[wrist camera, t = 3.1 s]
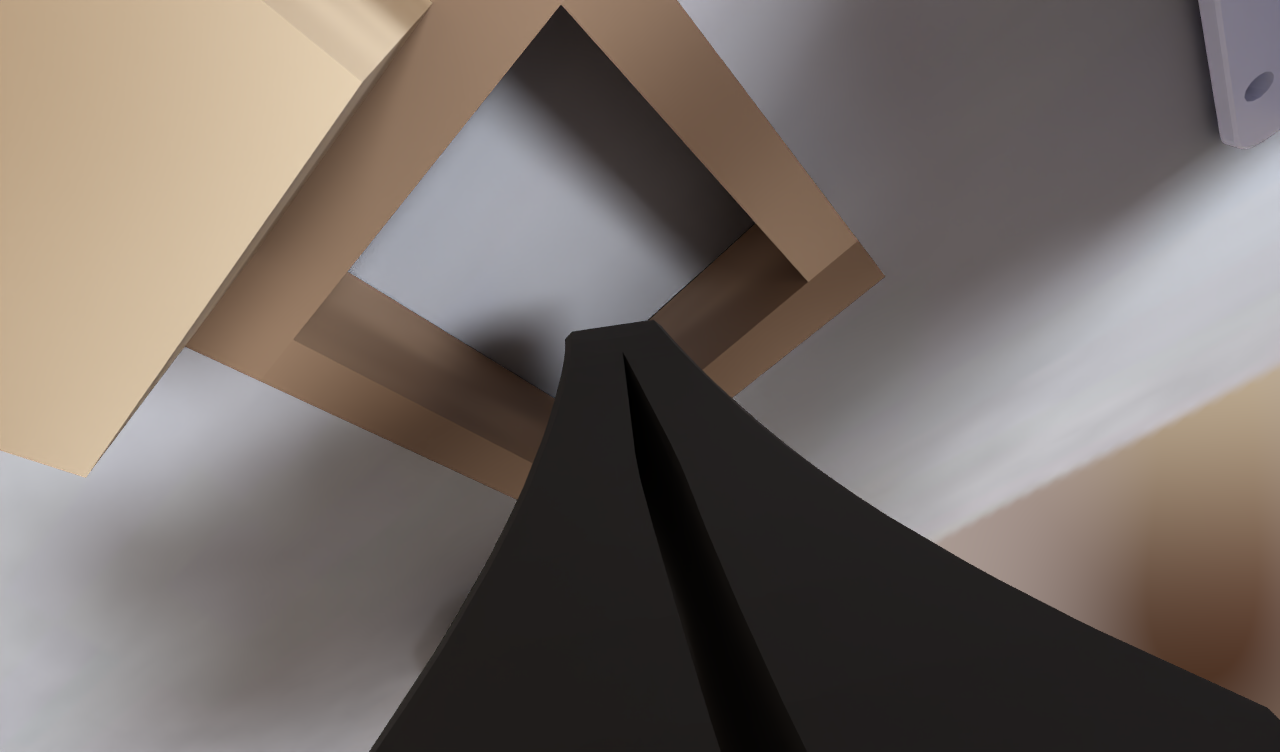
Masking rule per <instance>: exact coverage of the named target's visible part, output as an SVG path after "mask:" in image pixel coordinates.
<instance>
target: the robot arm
mask: <svg viewBox="0 0 1280 752" xmlns="http://www.w3.org/2000/svg"><path fill="white" fill-rule="evenodd" d="M1198 2H1199V9H1200V15H1201V21H1202V27H1203V33H1204V40H1205V46H1206V52H1207V58H1208V64H1209V71H1210V77H1211V83H1212V89H1213V95H1214V101H1215V108H1216V114H1217V120H1218V126H1219V132H1220V138H1221V140H1222V142H1223V143H1224V144H1227V145H1230V146H1233V147H1236V148H1240V149H1247V148H1251V147H1254V146H1256V145H1258V144H1260V143H1261V142H1263V141H1265V140H1266V139H1268V138H1269V137H1271V136H1272V135H1273V134H1275V133H1276V132H1278V131H1279V130H1280V0H1198ZM369 752H1280V720H1279V719H1278V718H1277V717H1276V716H1275V715H1274V714H1273V713H1272V712H1271V711H1270V710H1269V709H1268V708H1267V707H1264V706H1262V705H1260V704H1258V703H1256V702H1254V701H1251V700H1249V699H1247V698H1245V697H1243V696H1241V695H1238V694H1236V693H1234V692H1232V691H1230V690H1227V689H1225V688H1223V687H1221V686H1219V685H1217V684H1214V683H1212V682H1210V681H1208V680H1206V679H1204V678H1201V677H1199V676H1197V675H1195V674H1193V673H1190V672H1188V671H1186V670H1184V669H1182V668H1180V667H1177V666H1175V665H1173V664H1171V663H1169V662H1166V661H1164V660H1162V659H1160V658H1158V657H1155V656H1153V655H1151V654H1149V653H1147V652H1145V651H1142V650H1140V649H1138V648H1136V647H1134V646H1132V645H1129V644H1127V643H1125V642H1123V641H1121V640H1119V639H1116V638H1114V637H1112V636H1110V635H1108V634H1105V633H1103V632H1101V631H1099V630H1097V629H1095V628H1093V627H1091V626H1089V625H1086V624H1085V623H1082V622H1080V621H1078V620H1076V619H1074V618H1072V617H1070V616H1068V615H1066V614H1065V613H1063V612H1061V611H1059V610H1057V609H1055V608H1053V607H1051V606H1049V605H1047V604H1045V603H1043V602H1041V601H1039V600H1037V599H1035V598H1033V597H1031V596H1030V595H1028V594H1026V593H1024V592H1022V591H1020V590H1018V589H1016V588H1014V587H1012V586H1010V585H1008V584H1006V583H1004V582H1002V581H1000V580H998V579H996V578H995V577H993V576H991V575H989V574H987V573H986V572H984V571H982V570H980V569H978V568H977V567H975V566H973V565H971V564H969V563H967V562H966V561H964V560H962V559H960V558H959V557H957V556H955V555H954V554H952V553H950V552H948V551H947V550H945V549H943V548H942V547H940V546H938V545H937V544H935V543H933V542H932V541H930V540H928V539H926V538H925V537H923V536H921V535H920V534H918V533H916V532H914V531H913V530H911V529H909V528H908V527H906V526H904V525H902V524H901V523H899V522H897V521H896V520H894V519H892V518H890V517H889V516H887V515H886V514H884V513H882V512H881V511H879V510H878V509H876V508H875V507H873V506H872V505H870V504H869V503H867V502H866V501H864V500H862V499H861V498H859V497H858V496H856V495H855V494H853V493H852V492H850V491H849V490H848V489H846V488H845V487H843V486H842V485H840V484H839V483H838V482H836V481H835V480H833V479H832V478H830V477H829V476H828V475H826V474H825V473H823V472H822V471H820V470H819V469H818V468H816V467H815V466H814V465H812V464H811V463H810V462H808V461H807V460H806V459H804V458H803V457H802V456H800V455H799V454H798V453H796V452H795V451H794V450H793V449H791V448H790V447H789V446H787V445H786V444H785V443H784V442H783V441H781V440H780V439H779V438H778V437H776V436H775V435H774V434H773V433H772V432H770V431H769V430H768V429H767V428H765V427H764V426H763V425H762V424H761V423H759V422H758V421H757V420H756V419H755V418H754V417H752V416H751V415H750V414H749V413H748V412H747V411H746V410H744V409H743V408H742V407H741V406H740V405H739V404H738V403H737V402H736V401H735V400H733V399H732V398H731V397H730V396H729V395H728V394H727V393H726V392H725V391H724V390H723V389H722V388H721V387H719V386H718V385H717V384H716V383H715V382H714V381H713V380H712V379H711V378H710V377H709V376H708V375H707V374H706V373H705V372H704V371H703V370H702V369H701V368H700V367H699V366H698V365H697V364H696V363H695V362H694V361H693V360H692V359H691V358H690V357H689V356H688V355H687V354H686V353H685V352H684V351H683V349H682V348H681V347H680V346H679V345H678V344H677V343H676V342H675V341H674V340H673V339H672V337H671V336H670V335H669V334H668V333H667V332H666V331H665V330H664V328H663V327H662V326H661V325H660V324H658V323H657V322H656V321H655V320H648V321H641V322H635V323H628V324H621V325H614V326H608V327H601V328H594V329H587V330H580V331H574V332H571V333H570V335H569V336H568V337H567V338H566V339H565V356H564V363H563V369H562V374H561V378H560V382H559V386H558V390H557V394H556V397H555V401H554V404H553V407H552V410H551V413H550V417H549V420H548V423H547V426H546V430H545V432H544V435H543V438H542V441H541V443H540V446H539V449H538V451H537V454H536V456H535V459H534V461H533V464H532V466H531V469H530V471H529V474H528V476H527V479H526V481H525V484H524V486H523V489H522V491H521V493H520V495H519V498H518V500H517V502H516V504H515V506H514V509H513V511H512V513H511V515H510V517H509V519H508V521H507V523H506V525H505V527H504V529H503V531H502V533H501V535H500V537H499V539H498V541H497V543H496V545H495V547H494V549H493V551H492V553H491V555H490V557H489V559H488V561H487V563H486V564H485V566H484V568H483V570H482V572H481V573H480V575H479V577H478V579H477V581H476V582H475V584H474V586H473V588H472V589H471V591H470V593H469V595H468V597H467V598H466V600H465V602H464V604H463V606H462V607H461V609H460V611H459V613H458V614H457V616H456V618H455V619H454V621H453V623H452V624H451V626H450V628H449V629H448V631H447V633H446V634H445V636H444V638H443V639H442V641H441V643H440V644H439V646H438V648H437V649H436V651H435V652H434V654H433V656H432V657H431V659H430V660H429V662H428V663H427V665H426V666H425V668H424V669H423V671H422V672H421V674H420V675H419V677H418V678H417V680H416V681H415V683H414V684H413V686H412V687H411V689H410V691H409V692H408V694H407V695H406V697H405V698H404V700H403V701H402V703H401V704H400V706H399V707H398V709H397V710H396V712H395V713H394V715H393V716H392V718H391V719H390V721H389V722H388V724H387V725H386V727H385V728H384V730H383V732H382V733H381V735H380V736H379V738H378V739H377V741H376V742H375V744H374V745H373V747H372V748H371V750H370V751H369Z"/></svg>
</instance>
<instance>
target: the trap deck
mask: <svg viewBox="0 0 1280 752" xmlns="http://www.w3.org/2000/svg"><path fill="white" fill-rule="evenodd" d="M430 1H431V2H432V5H431V6H430V7H429V9H428V10H427V12H426V13H425V15H424V16H423V17H422V19H421V20H420V22H419V23H418V24H417V26H416V27H415V29H414V30H413V31H412V33H411V34H410V36H409V37H408V38H407V40H406V41H405V43H404V44H403V45H402V47H401V48H400V50H399V51H398V53H397V54H396V55H395V57H394V58H393V60H392V61H391V62H390V64H389V65H388V67H387V68H386V69H385V71H384V72H383V74H382V75H381V76H380V78H379V79H378V81H377V82H376V84H375V85H374V86H373V88H372V89H371V91H370V92H369V93H368V95H367V96H366V98H365V99H364V100H363V102H362V103H361V105H360V106H359V107H358V109H357V110H356V112H355V113H354V115H353V116H352V117H351V119H350V120H349V122H348V123H347V124H346V126H345V127H344V129H343V130H342V131H341V133H340V134H339V136H338V137H337V138H336V140H335V141H334V143H333V144H332V146H331V147H330V148H329V150H328V151H327V153H326V154H325V155H324V157H323V158H322V160H321V161H320V162H319V164H318V165H317V167H316V168H315V169H314V171H313V172H312V174H311V175H310V177H309V178H308V179H307V181H306V182H305V184H304V185H303V186H302V188H301V189H300V191H299V192H298V193H297V195H296V196H295V198H294V199H293V200H292V202H291V203H290V205H289V206H288V208H287V209H286V210H285V212H284V213H283V215H282V216H281V217H280V219H279V220H278V222H277V223H276V224H275V226H274V227H273V229H272V230H271V231H270V233H269V234H268V236H267V237H266V238H265V240H264V241H263V243H262V244H261V246H260V247H259V248H258V250H257V251H256V253H255V254H254V255H253V257H252V258H251V259H250V261H249V262H248V263H247V265H246V266H245V267H244V269H243V270H242V271H241V272H240V274H239V275H238V276H237V278H236V279H235V280H234V282H233V283H232V284H231V286H230V287H229V288H228V290H227V291H226V292H225V294H224V295H223V296H222V298H221V299H220V300H219V302H218V303H217V304H216V306H215V307H214V308H213V310H212V311H211V312H210V314H209V315H208V316H207V318H206V319H205V320H204V322H203V323H202V324H201V326H200V327H199V328H198V329H197V331H196V332H195V333H194V335H193V336H192V337H191V339H190V340H189V341H188V343H187V344H186V345H185V347H187V348H190V349H192V350H194V351H196V352H198V353H200V354H203V355H205V356H207V357H209V358H211V359H213V360H216V361H218V362H220V363H222V364H224V365H226V366H229V367H231V368H233V369H235V370H237V371H239V372H242V373H244V374H246V375H248V376H250V377H252V378H255V379H257V380H259V381H261V382H263V383H265V384H268V385H270V386H272V387H274V388H276V389H278V390H281V391H283V392H285V393H287V394H289V395H291V396H294V397H296V398H298V399H300V400H302V401H304V402H307V403H309V404H311V405H313V406H315V407H317V408H320V409H322V410H324V411H326V412H328V413H330V414H332V415H335V416H337V417H339V418H341V419H343V420H345V421H348V422H350V423H352V424H354V425H356V426H358V427H361V428H363V429H365V430H367V431H369V432H371V433H374V434H376V435H378V436H380V437H382V438H384V439H387V440H389V441H391V442H393V443H395V444H397V445H400V446H402V447H404V448H406V449H408V450H410V451H413V452H415V453H417V454H419V455H421V456H423V457H426V458H428V459H430V460H432V461H434V462H436V463H439V464H441V465H443V466H445V467H447V468H449V469H452V470H454V471H456V472H458V473H460V474H462V475H465V476H467V477H469V478H471V479H473V480H475V481H478V482H480V483H482V484H484V485H486V486H488V487H491V488H493V489H495V490H497V491H499V492H501V493H504V494H506V495H508V496H510V497H512V498H514V499H517V500H518V498H519V495H520V493H521V491H522V489H523V486H524V484H525V481H526V479H527V476H528V474H529V471H530V469H531V466H532V464H533V461H534V459H535V456H536V454H537V451H538V449H539V446H540V443H541V441H542V438H543V435H544V432H545V430H546V426H547V423H548V420H549V417H550V413H551V410H552V407H553V404H554V401H555V398H553V397H551V396H550V395H548V394H546V393H545V392H543V391H541V390H540V389H538V388H537V387H535V386H533V385H532V384H530V383H528V382H527V381H525V380H524V379H522V378H520V377H519V376H517V375H515V374H514V373H512V372H510V371H509V370H507V369H506V368H504V367H502V366H501V365H499V364H497V363H496V362H494V361H492V360H491V359H489V358H488V357H486V356H484V355H483V354H481V353H479V352H478V351H476V350H475V349H473V348H471V347H470V346H468V345H466V344H465V343H463V342H461V341H460V340H458V339H457V338H455V337H453V336H452V335H450V334H448V333H447V332H445V331H444V330H442V329H440V328H439V327H437V326H435V325H434V324H432V323H430V322H429V321H427V320H426V319H424V318H422V317H421V316H419V315H417V314H416V313H414V312H413V311H411V310H409V309H408V308H406V307H404V306H403V305H401V304H399V303H398V302H396V301H395V300H393V299H391V298H390V297H388V296H386V295H385V294H383V293H381V292H380V291H378V290H377V289H375V288H373V287H372V286H370V285H368V284H367V283H365V282H364V281H362V280H360V279H359V278H357V277H355V276H354V275H352V274H350V273H349V272H347V271H348V270H349V269H350V268H351V266H352V265H353V264H354V263H355V261H356V260H357V259H358V258H359V256H360V255H361V254H362V253H363V251H364V250H365V249H366V248H367V246H368V245H369V244H370V243H371V241H372V240H373V239H374V238H375V236H376V235H377V234H378V233H379V231H380V230H381V229H382V228H383V226H384V225H385V224H386V223H387V221H388V220H389V219H390V218H391V216H392V215H393V214H394V213H395V211H396V210H397V209H398V208H399V206H400V205H401V204H402V203H403V201H404V200H405V199H406V198H407V196H408V195H409V194H410V193H411V191H412V190H413V189H414V188H415V186H416V185H417V184H418V183H419V181H420V180H421V179H422V178H423V176H424V175H425V174H426V173H427V171H428V170H429V169H430V168H431V166H432V165H433V164H434V163H435V161H436V160H437V159H438V158H439V156H440V155H441V154H442V153H443V151H444V150H445V149H446V148H447V146H448V145H449V144H450V143H451V141H452V140H453V139H454V138H455V136H456V135H457V134H458V133H459V131H460V130H461V129H462V128H463V126H464V125H465V124H466V122H467V121H468V120H469V119H470V117H471V116H472V115H473V114H474V112H475V111H476V110H477V109H478V107H479V106H480V105H481V104H482V102H483V101H484V100H485V99H486V97H487V96H488V95H489V94H490V92H491V91H492V90H493V89H494V87H495V86H496V85H497V84H498V82H499V81H500V80H501V79H502V77H503V76H504V75H505V74H506V72H507V71H508V70H509V69H510V67H511V66H512V65H513V64H514V62H515V61H516V60H517V59H518V57H519V56H520V55H521V54H522V52H523V51H524V50H525V49H526V47H527V46H528V45H529V44H530V42H531V41H532V40H533V39H534V37H535V36H536V35H537V34H538V32H539V31H540V30H541V29H542V27H543V26H544V25H545V24H546V22H547V21H548V20H549V19H550V17H551V16H552V15H553V14H554V12H555V11H556V10H557V9H558V7H559V6H560V5H562V6H563V7H564V8H565V9H566V10H567V12H568V13H569V14H570V15H571V16H572V17H573V18H574V19H575V21H576V22H577V23H578V24H579V25H580V26H581V27H582V28H583V30H584V31H585V32H586V33H587V34H588V35H589V36H590V37H591V39H592V40H593V41H594V42H595V43H596V44H597V45H598V46H599V48H600V49H601V50H602V51H603V52H604V53H605V54H606V55H607V57H608V58H609V59H610V60H611V61H612V62H613V63H614V64H615V66H616V67H617V68H618V69H619V70H620V71H621V72H622V73H623V75H624V76H625V77H626V78H627V79H628V80H629V81H630V82H631V84H632V85H633V86H634V87H635V88H636V89H637V90H638V91H639V93H640V94H641V95H642V96H643V97H644V98H645V99H646V100H647V102H648V103H649V104H650V105H651V106H652V107H653V108H654V109H655V110H656V112H657V113H658V114H659V115H660V116H661V117H662V118H663V119H664V121H665V122H666V123H667V124H668V125H669V126H670V127H671V128H672V130H673V131H674V132H675V133H676V134H677V135H678V136H679V137H680V139H681V140H682V141H683V142H684V143H685V144H686V145H687V146H688V148H689V149H690V150H691V151H692V152H693V153H694V154H695V155H696V157H697V158H698V159H699V160H700V161H701V162H702V163H703V164H704V166H705V167H706V168H707V169H708V170H709V171H710V172H711V173H712V175H713V176H714V177H715V178H716V179H717V180H718V181H719V182H720V184H721V185H722V186H723V187H724V188H725V189H726V190H727V191H728V193H729V194H730V195H731V196H732V197H733V198H734V199H735V200H736V202H737V203H738V204H739V205H740V206H741V207H742V208H743V209H744V210H745V212H746V213H747V214H748V215H749V216H750V217H751V218H752V219H753V221H754V222H755V224H754V225H753V226H752V227H751V228H750V229H749V230H748V231H747V232H746V233H744V234H743V235H742V236H741V237H740V238H739V239H738V240H737V241H736V242H734V243H733V244H732V245H731V246H730V247H729V248H728V249H727V250H726V251H725V252H723V253H722V254H721V255H720V256H719V257H718V258H717V259H716V260H715V261H714V262H712V263H711V264H710V265H709V266H708V267H707V268H706V269H705V270H704V271H703V272H701V273H700V274H699V275H698V276H697V277H696V278H695V279H694V280H693V281H692V282H690V283H689V284H688V285H687V286H686V287H685V288H684V289H683V290H682V291H680V292H679V293H678V294H677V295H676V296H675V297H674V298H673V299H672V300H671V301H669V302H668V303H667V304H666V305H665V306H664V307H663V308H662V309H661V310H660V311H658V312H657V313H656V314H655V315H654V316H653V317H652V318H651V319H650V320H655V321H656V322H657V323H658V324H660V325H661V326H662V327H663V328H664V330H665V331H666V332H667V333H668V334H669V335H670V336H671V337H672V339H673V340H674V341H675V342H676V343H677V344H678V345H679V346H680V347H681V348H682V349H683V351H684V352H685V353H686V354H687V355H688V356H689V357H690V358H691V359H692V360H693V361H694V362H695V363H696V364H697V365H698V366H699V367H700V368H701V369H702V370H703V371H704V372H705V373H706V374H707V375H708V376H709V377H710V378H711V379H712V380H713V381H714V382H715V383H716V384H717V385H718V386H719V387H721V388H722V389H723V390H724V391H725V392H726V393H727V394H728V395H729V396H730V397H731V398H733V397H734V396H735V395H736V394H738V393H739V392H740V391H741V390H743V389H744V388H745V387H746V386H748V385H749V384H750V383H752V382H753V381H754V380H755V379H757V378H758V377H759V376H760V375H762V374H763V373H764V372H765V371H767V370H768V369H769V368H770V367H772V366H773V365H774V364H776V363H777V362H778V361H779V360H781V359H782V358H783V357H784V356H786V355H787V354H788V353H789V352H791V351H792V350H793V349H794V348H796V347H797V346H798V345H800V344H801V343H802V342H803V341H805V340H806V339H807V338H808V337H810V336H811V335H812V334H813V333H815V332H816V331H817V330H818V329H820V328H821V327H822V326H824V325H825V324H826V323H827V322H829V321H830V320H831V319H832V318H834V317H835V316H836V315H837V314H839V313H840V312H841V311H842V310H844V309H845V308H846V307H848V306H849V305H850V304H851V303H853V302H854V301H855V300H856V299H858V298H859V297H860V296H861V295H863V294H864V293H865V292H866V291H868V290H869V289H870V288H872V287H873V286H874V285H875V284H877V283H878V282H879V281H880V280H882V279H883V278H884V277H885V275H884V274H883V273H882V271H881V270H880V269H879V267H878V266H877V265H876V263H875V262H874V261H873V259H872V258H871V257H870V255H869V254H868V253H867V251H866V250H865V249H864V247H863V246H862V245H861V244H860V242H859V241H858V240H857V238H856V237H855V236H854V234H853V233H852V232H851V230H850V229H849V228H848V226H847V225H846V224H845V222H844V221H843V220H842V218H841V217H840V216H839V214H838V213H837V212H836V210H835V209H834V208H833V206H832V205H831V204H830V202H829V201H828V200H827V198H826V197H825V196H824V194H823V193H822V192H821V190H820V189H819V188H818V186H817V185H816V184H815V183H814V181H813V180H812V179H811V177H810V176H809V175H808V173H807V172H806V171H805V169H804V168H803V167H802V165H801V164H800V163H799V161H798V160H797V159H796V157H795V156H794V155H793V153H792V152H791V151H790V149H789V148H788V147H787V145H786V144H785V143H784V141H783V140H782V139H781V137H780V136H779V135H778V133H777V132H776V131H775V129H774V128H773V127H772V125H771V124H770V123H769V121H768V120H767V119H766V118H765V116H764V115H763V114H762V112H761V111H760V110H759V108H758V107H757V106H756V104H755V103H754V102H753V100H752V99H751V98H750V96H749V95H748V94H747V92H746V91H745V90H744V88H743V87H742V86H741V84H740V83H739V82H738V80H737V79H736V78H735V76H734V75H733V74H732V72H731V71H730V70H729V68H728V67H727V66H726V64H725V63H724V62H723V60H722V59H721V58H720V56H719V55H718V54H717V53H716V51H715V50H714V49H713V47H712V46H711V45H710V43H709V42H708V41H707V39H706V38H705V37H704V35H703V34H702V33H701V31H700V30H699V29H698V27H697V26H696V25H695V23H694V22H693V21H692V19H691V18H690V17H689V15H688V14H687V13H686V11H685V10H684V9H683V7H682V6H681V5H680V3H679V2H678V1H677V0H430Z"/></svg>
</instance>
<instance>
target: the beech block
mask: <svg viewBox="0 0 1280 752" xmlns="http://www.w3.org/2000/svg"><path fill="white" fill-rule="evenodd" d="M431 5H432V2H431V1H430V0H0V450H1V451H4V452H7V453H10V454H13V455H17V456H20V457H23V458H26V459H29V460H32V461H35V462H38V463H41V464H45V465H48V466H51V467H54V468H57V469H60V470H63V471H66V472H70V473H73V474H76V475H79V476H82V477H85V478H86V477H87V475H88V474H89V473H90V471H91V470H92V469H93V467H94V466H95V465H96V463H97V462H98V461H99V459H100V458H101V457H102V455H103V454H104V453H105V451H106V450H107V449H108V447H109V446H110V445H111V444H112V442H113V441H114V440H115V438H116V437H117V436H118V434H119V433H120V432H121V430H122V429H123V428H124V426H125V425H126V424H127V422H128V421H129V420H130V418H131V417H132V416H133V414H134V413H135V412H136V410H137V409H138V408H139V406H140V405H141V404H142V402H143V401H144V400H145V398H146V397H147V396H148V394H149V393H150V392H151V390H152V389H153V388H154V386H155V385H156V384H157V383H158V381H159V380H160V379H161V377H162V376H163V375H164V373H165V372H166V371H167V369H168V368H169V367H170V365H171V364H172V363H173V361H174V360H175V359H176V357H177V356H178V355H179V353H180V352H181V351H182V349H183V348H184V347H185V345H186V344H187V343H188V341H189V340H190V339H191V337H192V336H193V335H194V333H195V332H196V331H197V329H198V328H199V327H200V326H201V324H202V323H203V322H204V320H205V319H206V318H207V316H208V315H209V314H210V312H211V311H212V310H213V308H214V307H215V306H216V304H217V303H218V302H219V300H220V299H221V298H222V296H223V295H224V294H225V292H226V291H227V290H228V288H229V287H230V286H231V284H232V283H233V282H234V280H235V279H236V278H237V276H238V275H239V274H240V272H241V271H242V270H243V269H244V267H245V266H246V265H247V263H248V262H249V261H250V259H251V258H252V257H253V255H254V254H255V253H256V251H257V250H258V248H259V247H260V246H261V244H262V243H263V241H264V240H265V238H266V237H267V236H268V234H269V233H270V231H271V230H272V229H273V227H274V226H275V224H276V223H277V222H278V220H279V219H280V217H281V216H282V215H283V213H284V212H285V210H286V209H287V208H288V206H289V205H290V203H291V202H292V200H293V199H294V198H295V196H296V195H297V193H298V192H299V191H300V189H301V188H302V186H303V185H304V184H305V182H306V181H307V179H308V178H309V177H310V175H311V174H312V172H313V171H314V169H315V168H316V167H317V165H318V164H319V162H320V161H321V160H322V158H323V157H324V155H325V154H326V153H327V151H328V150H329V148H330V147H331V146H332V144H333V143H334V141H335V140H336V138H337V137H338V136H339V134H340V133H341V131H342V130H343V129H344V127H345V126H346V124H347V123H348V122H349V120H350V119H351V117H352V116H353V115H354V113H355V112H356V110H357V109H358V107H359V106H360V105H361V103H362V102H363V100H364V99H365V98H366V96H367V95H368V93H369V92H370V91H371V89H372V88H373V86H374V85H375V84H376V82H377V81H378V79H379V78H380V76H381V75H382V74H383V72H384V71H385V69H386V68H387V67H388V65H389V64H390V62H391V61H392V60H393V58H394V57H395V55H396V54H397V53H398V51H399V50H400V48H401V47H402V45H403V44H404V43H405V41H406V40H407V38H408V37H409V36H410V34H411V33H412V31H413V30H414V29H415V27H416V26H417V24H418V23H419V22H420V20H421V19H422V17H423V16H424V15H425V13H426V12H427V10H428V9H429V7H430V6H431Z"/></svg>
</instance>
